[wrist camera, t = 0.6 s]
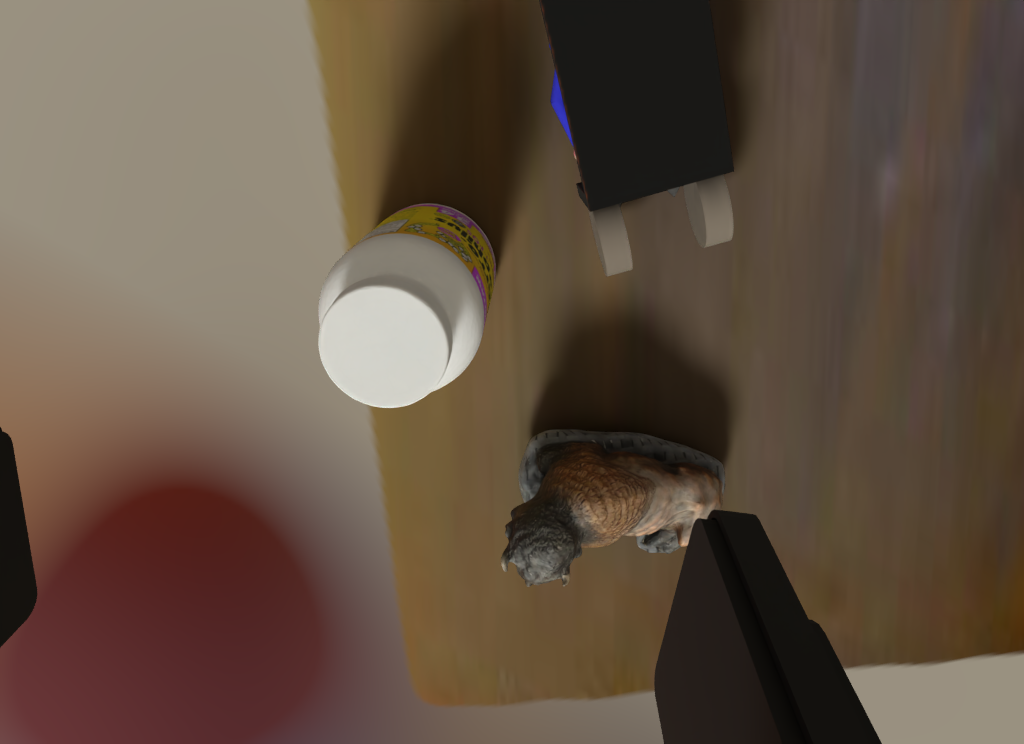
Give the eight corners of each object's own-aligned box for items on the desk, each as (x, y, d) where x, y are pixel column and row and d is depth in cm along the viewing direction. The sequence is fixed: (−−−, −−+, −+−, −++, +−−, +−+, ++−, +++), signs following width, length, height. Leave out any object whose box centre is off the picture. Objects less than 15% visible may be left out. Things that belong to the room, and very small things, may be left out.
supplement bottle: (519, 293, 37) (510, 391, 26) (410, 345, 39) (353, 461, 27) (458, 175, 35) (418, 223, 23) (345, 235, 37) (252, 309, 25)
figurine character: (714, 207, 37) (656, -135, 30) (760, 256, 30) (698, -169, 23) (587, 243, 38) (502, -79, 31) (603, 299, 31) (499, -97, 24)
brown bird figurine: (728, 427, 40) (786, 531, 31) (701, 531, 43) (747, 657, 33) (515, 402, 40) (509, 499, 31) (502, 508, 43) (492, 628, 33)
